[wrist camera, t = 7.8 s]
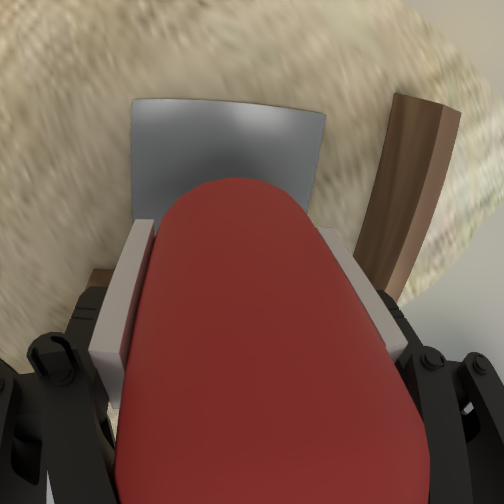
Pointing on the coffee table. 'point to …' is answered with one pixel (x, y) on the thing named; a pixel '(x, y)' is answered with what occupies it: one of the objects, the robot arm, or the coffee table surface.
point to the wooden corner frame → (397, 193)
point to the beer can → (259, 368)
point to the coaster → (218, 149)
